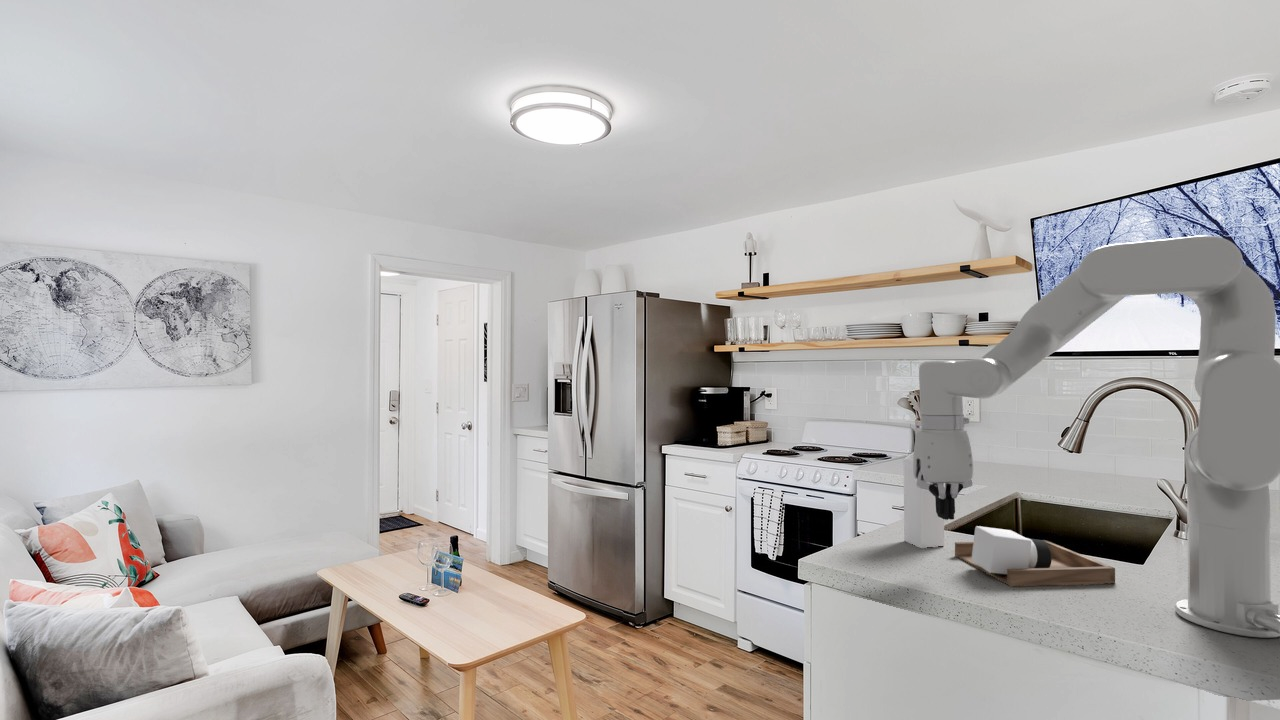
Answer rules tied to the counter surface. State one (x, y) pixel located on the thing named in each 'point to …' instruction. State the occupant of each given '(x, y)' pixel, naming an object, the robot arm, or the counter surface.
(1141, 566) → the counter surface
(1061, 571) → the walnut tray
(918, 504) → the milk
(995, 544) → the medicine bottle
